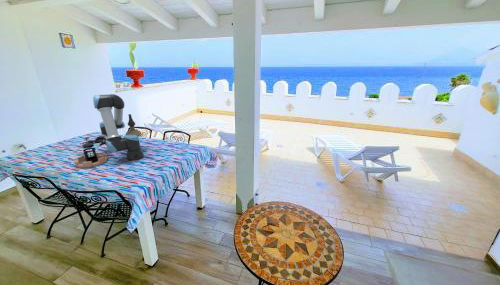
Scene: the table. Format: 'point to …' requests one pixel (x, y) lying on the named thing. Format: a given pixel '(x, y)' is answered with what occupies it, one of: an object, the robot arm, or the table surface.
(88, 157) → the french press
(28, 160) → the table surface
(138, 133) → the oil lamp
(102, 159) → the castellated ring
